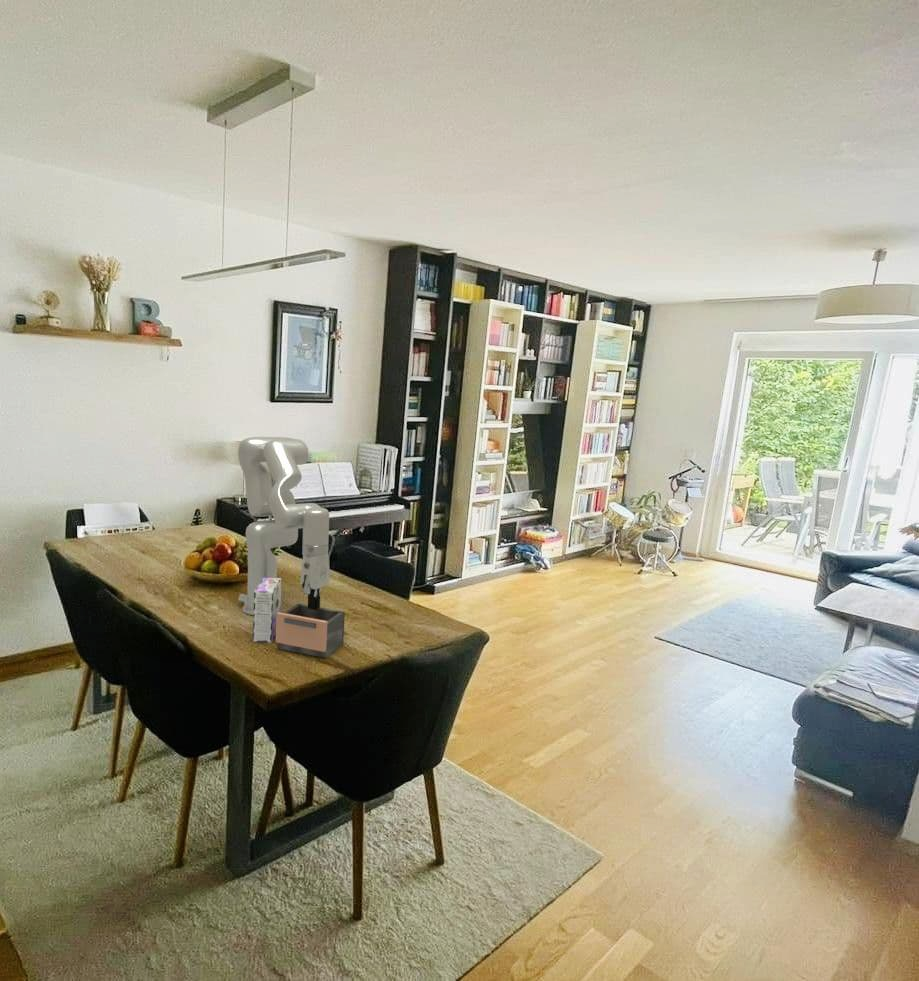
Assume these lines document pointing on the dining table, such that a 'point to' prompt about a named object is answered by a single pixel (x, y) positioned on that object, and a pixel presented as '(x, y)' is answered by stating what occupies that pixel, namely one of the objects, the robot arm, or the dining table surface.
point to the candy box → (266, 609)
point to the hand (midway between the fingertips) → (313, 608)
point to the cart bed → (333, 629)
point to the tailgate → (301, 631)
